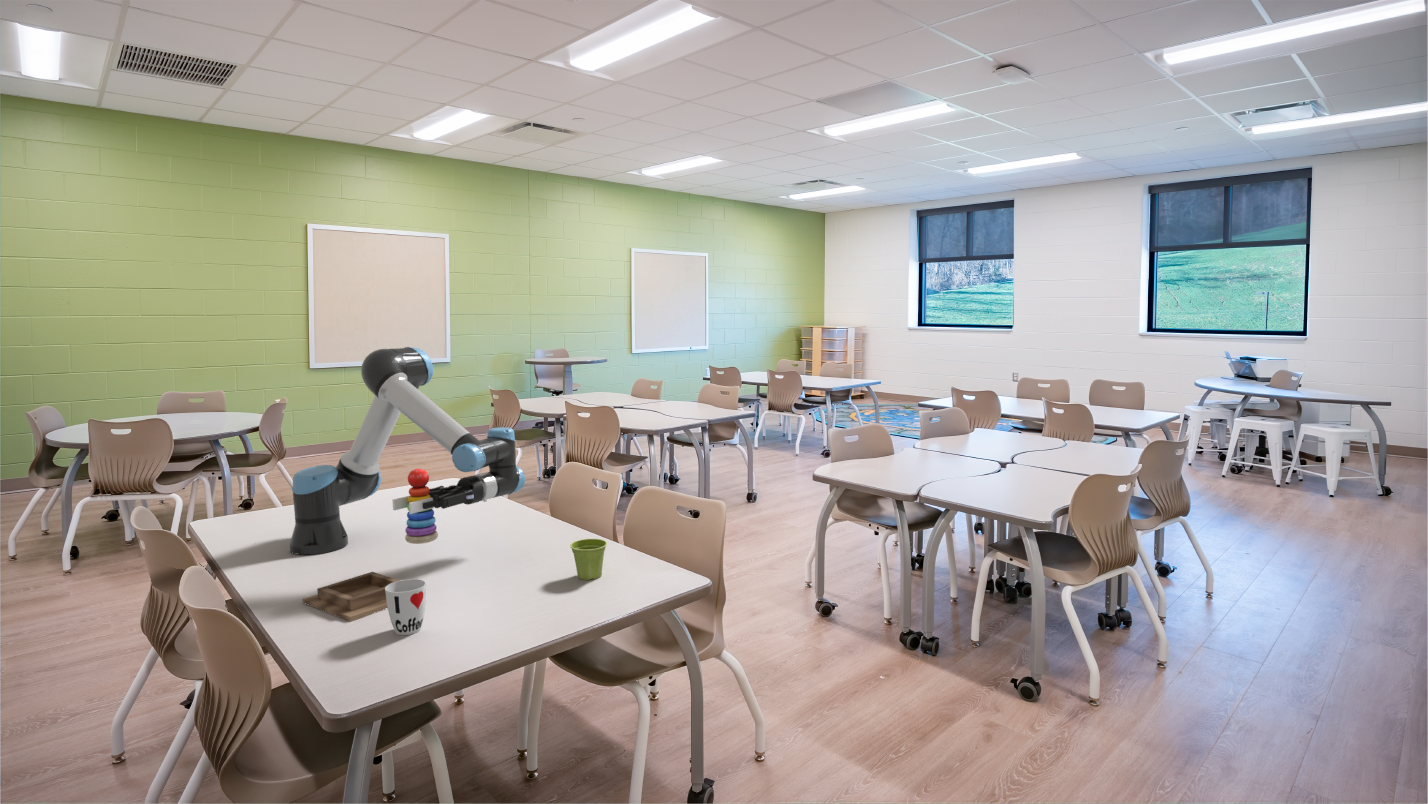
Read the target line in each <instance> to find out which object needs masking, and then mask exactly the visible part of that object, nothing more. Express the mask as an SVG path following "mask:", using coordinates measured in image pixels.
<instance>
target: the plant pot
mask: <svg viewBox="0 0 1428 804" xmlns="http://www.w3.org/2000/svg"><path fill="white" fill-rule="evenodd" d="M569 545H570V546H569V547H570V549H571V551H572V553H573V558H574V563H575V567H576V569H575V570H576V573H577V574H576V575H577V578H579V579H580V580H584V581H591V579H594V580H596V579H599V578H601V577H602V574H603V565H604V556H605V555H604V554H605V551H606V547H607V545H608V542H607V541H606V540H604V539H600V538H584V539H579V540H574V541H573V542H571V543H570V544H569Z"/></svg>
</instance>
